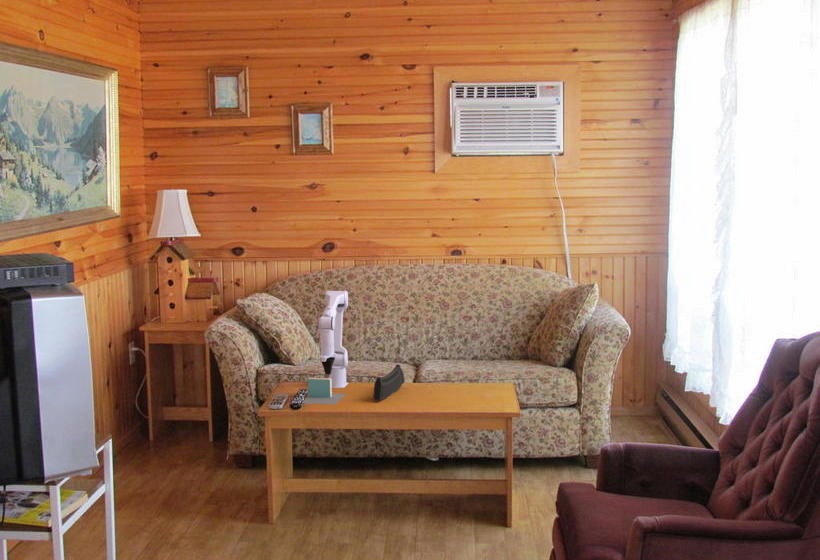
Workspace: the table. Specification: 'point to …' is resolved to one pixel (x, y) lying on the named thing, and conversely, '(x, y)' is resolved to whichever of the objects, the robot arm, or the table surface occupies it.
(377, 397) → the magazine
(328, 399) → the mat
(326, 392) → the tile
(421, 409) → the table surface
